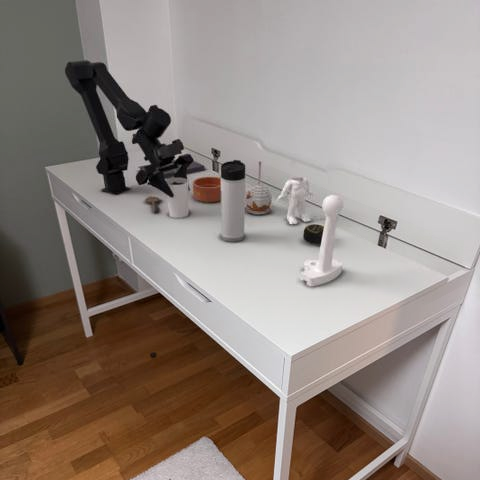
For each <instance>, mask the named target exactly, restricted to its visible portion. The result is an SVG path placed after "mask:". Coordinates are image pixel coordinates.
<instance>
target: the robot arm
mask: <svg viewBox="0 0 480 480" xmlns="http://www.w3.org/2000/svg"><path fill="white" fill-rule="evenodd" d="M64 73H65V77H66V78H67V80H68V82H69V84H70V87H71V88H72V89H73V90H74V91H75V92H77V93H78V94H79V95H80V97H81V100H82V102H83V104H84V107H85V109H86V111H87V115H88V117H89V119H90V122H91V124H92V127H93V130H94V132H95V134H96V137H97V140H98V142H99V147H98V157H99V161H98V162H97V163H96V166H95V169H96V171H97V174H99V175H102V178H103V185H104V187H103V188H101V192H106V193H109V194H112V195H118V194H120V193H122V192H126V191H127V190H129V189H130V188H129V186H126V178H125V176H124V174H125V173H124V171H128V168H129V160H130V159H129V152H128V151H127V149H126V145H125V143H124V142H123V141H122V140H121V141H119V139H117V138H116V137H115V135H114V131H113V129H112V127H111V124H110V121H109V118H108V116H107V113H106V111H105V109H104V105H103V104H102V101H101V98H100V96H99V94H98V89H97V88H99V89H100V91H101V92H102V93H103V95H104V96H105V97H106V98H107V100H108V101H109V102H110V104H111V105H112V106H113V107H114V109H115V111H116V118H117V120H118V122H119V124H120V125H121V127H122V128H123V130H124V131H127V132H131V131H136V130H137V131H136V132H135V133H132V138H131V143H132V145H138V146H139V148H140V150H141V151H142V153H143V154H144V157H143V159H144V161H145V162H147V161H148V162H149V164H145V165H146V166H145V165H142V166H143V167H141V169H140V170H139V169H138V172H137V173H136V175H135V181H136V182H137V184H138V186H142V185H145V184H147V186H151V187H153V188H154V189H157V190H158V191H160V192H162V193H163V194H165V195H166V196H167V195H168V196H170V197H171V198H172V197H173V196H174V195H173V192H172V191H171V189H170V187H169V185H168V184H167V182H166V178H164V174H163V173H164V172H167V171H170V170H173V171H174V172H175V174H174V176H173V178H185V179H187V180H188V181H189V179H188V173H186V170H187V168H188V167H189V166H190V165H191V163H192V162H193V161H195V159H194V158H193V156H192V155H191V154H190V153H184V154H183V152H182V151H183V150H185V146H184V143H183V142H182V140H181V139H180V138H177V139H174V140H172V141H171V143H169V144H166V143H161V142H160V140H159V139H160V138H162V136H163V135H164V133H165V132H166V130H167V129H168V128H169V126H170V125H171V122H172V117H171V116H170V114H169V113H168V112H167V111H165V110H164V109H162V108H160V107H159V106H158V105H157V104H153V105H150V106H149V108H148V110H146V109H145V108H144V107H143V106H142V105H140V103H139V102H138V101H135V100H133V99H132V98H130V97H129V96H128V95H127V94H126V92H125V90H123V89H122V87H121V86H120V85H119V83H118V82H117V81H116V79H115V78H114V77H113V75H112V74H111V73H110V72H109V71H108V67H107V65H106V63H104V62H102V61H96V62H92V61H90V60H87V59H85V60H73V61H68V62H67V63H66V66H65V69H64ZM177 155H179V156H178V157H177V158H176V156H177ZM172 160H176V161H175V162H172ZM190 191H191V188H190V184H189V182H188V193H189V192H190Z"/></svg>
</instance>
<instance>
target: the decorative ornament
mask: <svg viewBox="0 0 480 480" xmlns="http://www.w3.org/2000/svg"><path fill="white" fill-rule="evenodd" d="M261 175H262V161H261V160H259V161H258V175H257V176H258V177H257V179H258V180H257V184H255V186H254V185H252V186H251V187H250V188H249V189H248V190H247V193H246V192H245V203H246V204H245V212H247V213H249V214H252V215H253V214H254V215H264V214H268V213H270V212H271V211H272V207H271V205H272V203H273V202H272V200H273V195H272V194H271V191H270V189H268V187H266V186H264V185H263V184H261V179H262V178H261V177H262V176H261Z"/></svg>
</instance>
